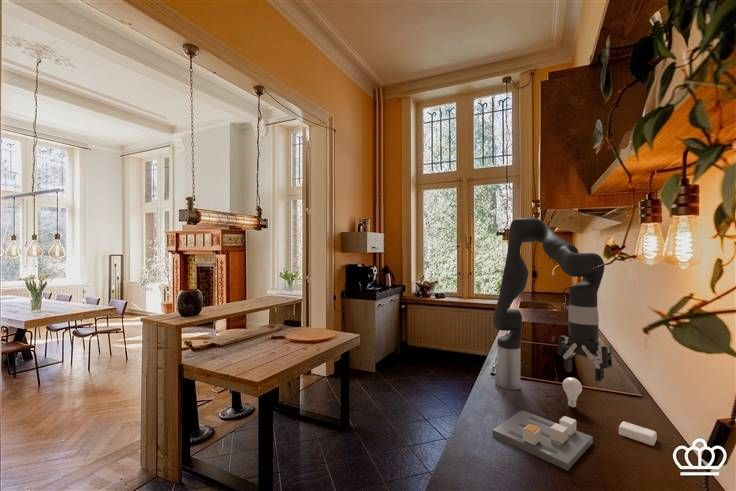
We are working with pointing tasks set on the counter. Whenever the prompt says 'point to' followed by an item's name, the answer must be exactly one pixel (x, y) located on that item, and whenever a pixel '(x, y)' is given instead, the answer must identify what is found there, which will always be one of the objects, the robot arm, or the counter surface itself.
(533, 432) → the block
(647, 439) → the soap
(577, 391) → the lightbulb
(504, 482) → the counter surface
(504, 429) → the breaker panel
